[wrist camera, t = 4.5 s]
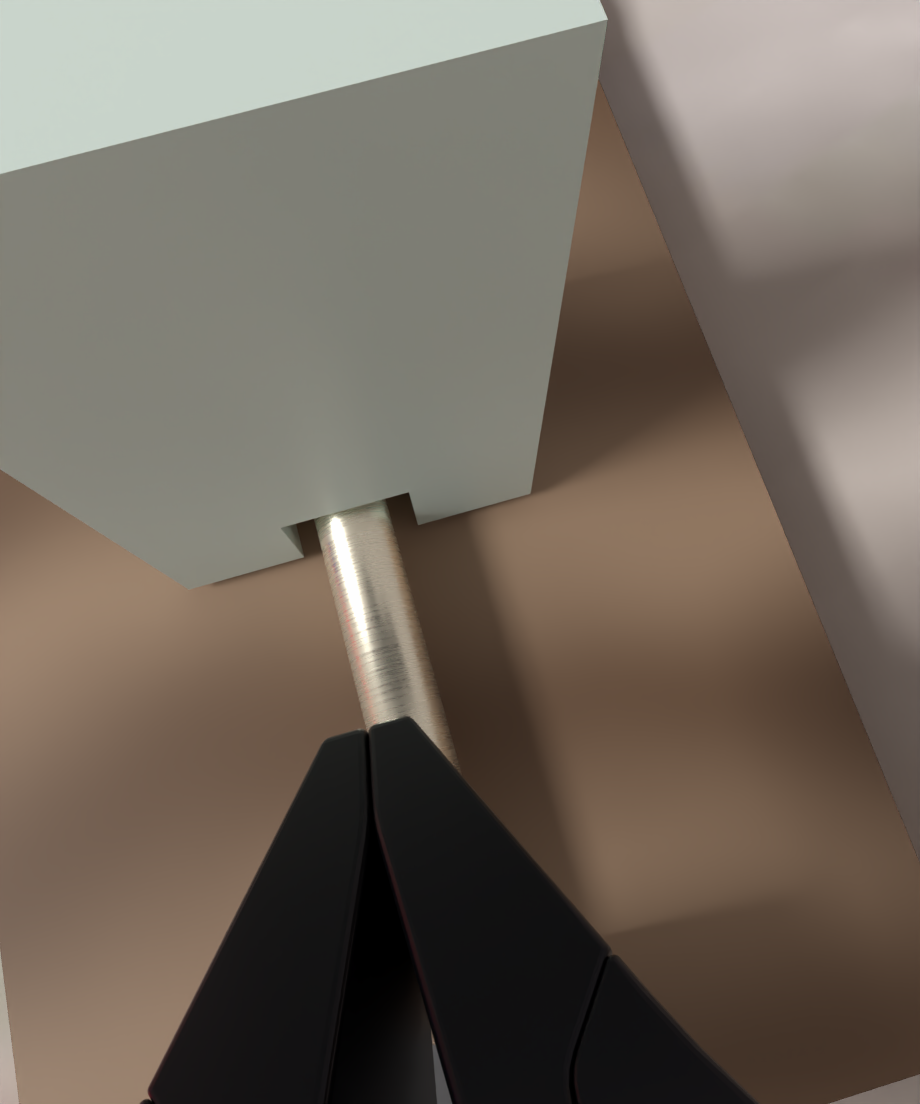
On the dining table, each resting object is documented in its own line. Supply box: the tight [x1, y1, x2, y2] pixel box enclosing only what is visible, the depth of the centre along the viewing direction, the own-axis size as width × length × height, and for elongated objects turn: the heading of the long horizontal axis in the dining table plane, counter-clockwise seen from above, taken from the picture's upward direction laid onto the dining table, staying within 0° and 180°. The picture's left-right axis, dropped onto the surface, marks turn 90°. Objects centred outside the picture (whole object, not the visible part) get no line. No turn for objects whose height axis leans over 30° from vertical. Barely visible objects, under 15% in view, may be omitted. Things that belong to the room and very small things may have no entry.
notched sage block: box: [0, 0, 608, 590], centre depth 10 cm, size 4×6×9 cm, turn 106°
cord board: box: [0, 79, 920, 1104], centre depth 16 cm, size 25×14×2 cm, turn 16°
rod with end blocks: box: [314, 499, 462, 1104], centre depth 13 cm, size 24×5×6 cm, turn 16°
